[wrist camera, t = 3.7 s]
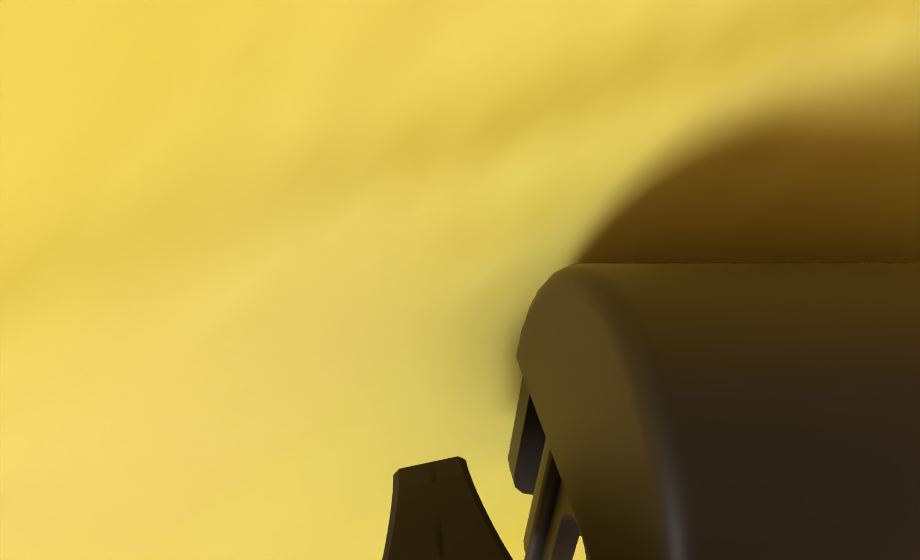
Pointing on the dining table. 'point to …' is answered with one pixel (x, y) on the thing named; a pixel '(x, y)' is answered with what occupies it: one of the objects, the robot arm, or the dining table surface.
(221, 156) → the dining table surface
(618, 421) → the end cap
